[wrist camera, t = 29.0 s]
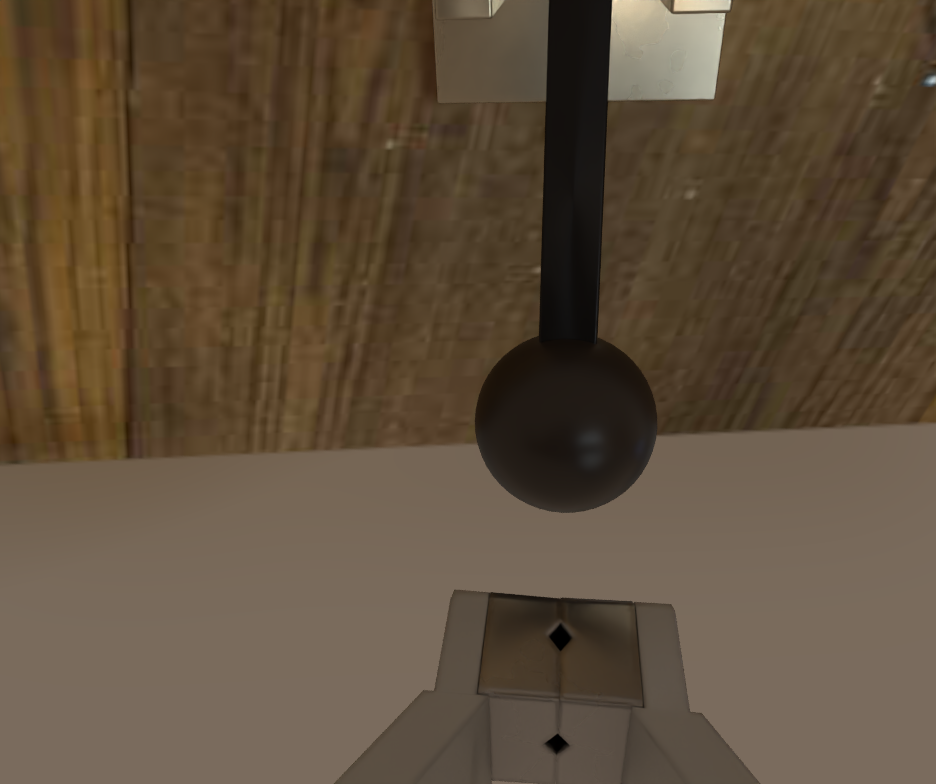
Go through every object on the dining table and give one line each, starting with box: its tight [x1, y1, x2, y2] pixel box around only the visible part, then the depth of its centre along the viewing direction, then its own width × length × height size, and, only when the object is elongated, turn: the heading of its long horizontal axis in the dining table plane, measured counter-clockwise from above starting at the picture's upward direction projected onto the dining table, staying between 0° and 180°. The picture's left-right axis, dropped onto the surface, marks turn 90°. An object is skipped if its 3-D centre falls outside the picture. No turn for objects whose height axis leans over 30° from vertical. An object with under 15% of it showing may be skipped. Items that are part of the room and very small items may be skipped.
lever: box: [475, 0, 657, 513], centre depth 14 cm, size 13×4×4 cm, turn 2°
